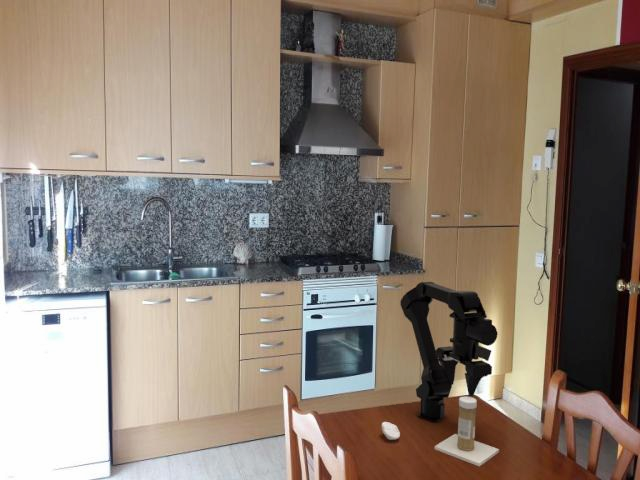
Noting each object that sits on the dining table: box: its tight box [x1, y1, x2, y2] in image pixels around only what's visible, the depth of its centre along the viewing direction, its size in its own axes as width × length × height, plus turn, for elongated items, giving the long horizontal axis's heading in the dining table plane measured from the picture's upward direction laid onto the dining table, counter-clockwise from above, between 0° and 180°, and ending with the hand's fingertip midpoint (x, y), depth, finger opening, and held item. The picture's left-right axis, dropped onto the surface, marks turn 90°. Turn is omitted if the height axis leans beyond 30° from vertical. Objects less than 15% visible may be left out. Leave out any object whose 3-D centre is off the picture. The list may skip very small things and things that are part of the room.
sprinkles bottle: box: [457, 395, 478, 451], centre depth 147 cm, size 5×5×14 cm
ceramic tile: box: [434, 433, 500, 468], centre depth 148 cm, size 13×11×1 cm
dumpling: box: [381, 421, 401, 441], centre depth 154 cm, size 7×5×4 cm
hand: (460, 390), depth 156 cm, fingers open, 9 cm apart
